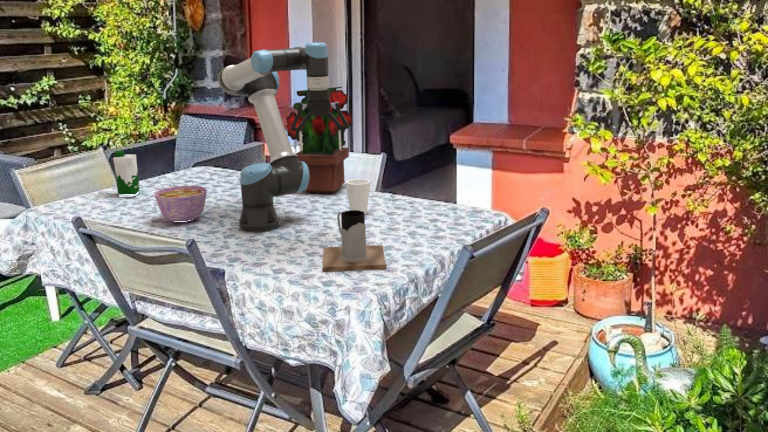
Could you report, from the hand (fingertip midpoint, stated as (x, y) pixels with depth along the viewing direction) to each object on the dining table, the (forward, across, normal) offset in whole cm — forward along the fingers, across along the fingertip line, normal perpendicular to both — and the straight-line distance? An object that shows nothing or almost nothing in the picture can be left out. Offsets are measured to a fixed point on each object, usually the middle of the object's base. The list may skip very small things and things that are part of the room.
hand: (320, 149), depth 273 cm
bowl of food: (+32, -56, +28) cm, 70 cm away
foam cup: (+32, +13, +28) cm, 44 cm away
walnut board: (+32, +10, -28) cm, 43 cm away
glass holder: (+30, +9, -28) cm, 42 cm away
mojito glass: (+32, -88, +71) cm, 117 cm away
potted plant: (+32, -2, +68) cm, 75 cm away
